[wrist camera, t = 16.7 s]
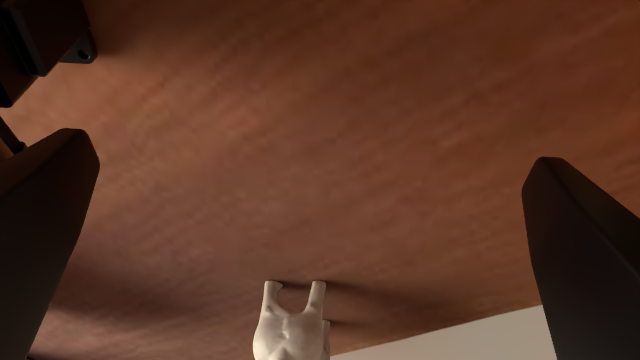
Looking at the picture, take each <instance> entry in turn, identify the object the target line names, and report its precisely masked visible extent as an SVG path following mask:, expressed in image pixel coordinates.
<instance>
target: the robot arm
mask: <svg viewBox="0 0 640 360" xmlns="http://www.w3.org/2000/svg"><path fill="white" fill-rule="evenodd" d="M89 27H90V22H89V19H88V17H87V14H86V11H85V8H84V5H83V2H82V0H0V107H2V108H9V107H12V105H13V104H14V103H15V102H16V101H17V100H18V99H19V98H20V97H21V96H22V95H23V93H24V92H25V91H26V90H27V89H28V88H29V87H30V86H31V85H32V84H33V83H34V82H35V80H36V79H37V78H38V77H45V76H47V75H48V74H49V72H50V71H51V70H52V69H53V68H54V67H55V66H56V65H57V64H58V62H63V63H81V64H90V63H92V62H93V61H94V60H95V59H96V57H97V55H98V52H97V48H96V46H95V43H94V40H93V37H92V34H91V32H90V29H89ZM81 49H82V50H85V51H86V52H87V53H88V54H89V55H87V54H85V53H83V51H82V50H81ZM99 169H100V162H99V158H98V156H97V154H96V151H95V149H94V147H93V145H92V142H91V140H90V138H89V136H88V134H87V133H86V132H85V131H84V130H82V129H71V128H63V129H60V130H58V131H56V132H54V133H53V134H51V135H49V136H47V137H45V138H44V139H42V140H40V141H38V142H37V143H35V144H33V145H31V146H29V147H27V146H26V144H25V143H24V142H20V141H19V140H18V139H17V137H16V136H15V135H14V133H13V132H12V131H11V130H10V128H9V127H8V126H7V124H6V123H5V122H4V120H3V119H2V118H1V117H0V360H25V359H26V357H27V355H28V353H29V350H30V348H31V346H32V343H33V341H34V339H35V337H36V334H37V332H38V330H39V327H40V325H41V323H42V321H43V318H44V316H45V314H46V311H47V309H48V307H49V304H50V302H51V300H52V298H53V295H54V293H55V291H56V288H57V286H58V284H59V282H60V279H61V277H62V275H63V272H64V270H65V268H66V266H67V263H68V261H69V259H70V256H71V254H72V252H73V250H74V247H75V245H76V243H77V240H78V238H79V235H80V232H81V229H82V226H83V224H84V220H85V217H86V214H87V210H88V207H89V204H90V200H91V197H92V194H93V190H94V187H95V184H96V180H97V177H98V174H99ZM522 203H523V210H524V217H525V224H526V231H527V238H528V245H529V252H530V257H531V263H532V267H533V271H534V275H535V279H536V283H537V286H538V290H539V294H540V297H541V301H542V305H543V308H544V312H545V316H546V319H547V323H548V327H549V331H550V334H551V338H552V341H553V345H554V349H555V353H556V356H557V360H640V219H639V218H638V217H637V216H636V215H634V214H633V213H632V212H630V211H629V210H628V209H627V208H625V207H624V206H623V205H622V204H620V203H619V202H618V201H616V200H615V199H614V198H613V197H611V196H610V195H609V194H607V193H606V192H605V191H604V190H602V189H601V188H600V187H599V186H597V185H596V184H595V183H593V182H592V181H591V180H590V179H588V178H587V177H586V176H584V175H583V174H582V173H581V172H579V171H578V170H577V169H575V168H574V167H573V166H572V165H570V164H569V163H568V162H567V161H565V160H564V159H562V158H558V157H540V158H538V159H537V160H536V162H535V163H534V165H533V167H532V169H531V171H530V173H529V175H528V177H527V179H526V181H525V182H524V185H523V187H522Z"/></svg>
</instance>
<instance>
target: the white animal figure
mask: <svg viewBox="0 0 640 360" xmlns="http://www.w3.org/2000/svg"><path fill="white" fill-rule="evenodd" d="M282 287H283V285H282V284H281V283H279V282H276V281H266V282H265V287H264V298H263V304H262V310H261V315H260V320H259V324H258V327H257V329H256V332H255V335H254V340H253V353H254V357H255V360H330V346H329V328H330V322H329V321H327V320H322V308H323V304H324V294H325V290H326V283H325V282H323V281H313V283H312V288H311V291H310V295H309V300H308V303H307V306H306V308H305V310H304V311H302V312H293V311H290V310H288V309H286V308H284V307H283V306H282V305H280V304H279V302H278V301H277V293H278V291H279V290H280V289H281V288H282Z"/></svg>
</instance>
